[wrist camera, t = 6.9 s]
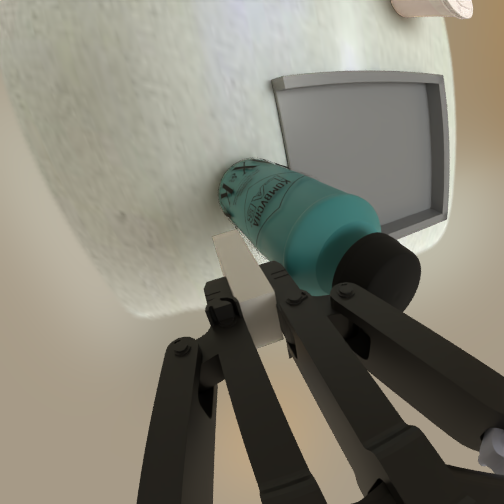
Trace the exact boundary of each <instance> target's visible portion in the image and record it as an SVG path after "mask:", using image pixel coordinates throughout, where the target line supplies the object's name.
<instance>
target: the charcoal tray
mask: <svg viewBox="0 0 504 504" xmlns="http://www.w3.org/2000/svg"><path fill="white" fill-rule="evenodd" d="M272 85H273V89H274V94H275V99H276V104H277V109H278V114H279V119H280V124H281V129H282V134H283V139H284V145H285V150H286V155H287V161H288V167H289V168H290V169H289V170H292V171H296V172H297V173H300V174H302V173H304V174H303V175H310V177H311V178H313V179H316V180H319V182H322V183H324V184H327V185H329V186H332V187H334V188H336V189H339V190H341V191H344V192H346V193H348V194H353V195H356V196H359V197H361V198H363V199H364V200H366V201H367V202H368V203H369V204H370V205H371V206H372V207H373V208H374V210H375V211H376V213H377V215H378V218H379V221H380V226H381V233H385V234H387V235H389V236H391V237H393V238H394V239H396V240H397V239H400V238H402V237H405V236H407V235H410V234H412V233H415V232H417V231H420V230H422V229H425V228H427V227H430V226H432V225H435V224H437V223H439V222H442V221H444V220H447V213H448V198H449V128H448V113H447V102H446V93H445V85H444V78H443V75H438V74H428V73H416V72H400V71H336V72H320V73H308V74H297V75H288V76H282V77H279V78H276V79H273V80H272ZM297 170H298V171H297ZM311 175H312V176H311Z"/></svg>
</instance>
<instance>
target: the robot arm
mask: <svg viewBox="0 0 504 504" xmlns="http://www.w3.org/2000/svg"><path fill="white" fill-rule="evenodd" d="M212 238H213V242H214V245H215V249H216V252H217V255H218V259H219V262H220V266H221V269H222V272H223V276H224V277H222V278H219V279H215V280H212V281H209V282H206V285H205V287H204V292H205V296H206V301H207V306H206V310H205V312H206V314H207V317H208V319H209V322H210V325H211V327H210V329H209V330H208V332H207V333H206V334H205V335H203V336H202V337H200V338H198V339H197V340H195V339H193V338H191V337H182V338H178V339H176V340H175V341H173V342H172V343H170V345H169V346H168V347H167V349H166V353H165V357H164V361H163V366H162V370H161V374H160V378H159V383H158V388H157V392H156V397H155V401H154V406H153V411H152V416H151V421H150V426H149V431H148V436H147V442H146V447H145V454H144V459H143V465H142V471H141V478H140V483H139V490H138V497H137V504H213V478H214V451H215V428H216V427H215V426H216V407H217V389H218V386H217V384H218V383H219V382H221V381H223V380H224V379H225V380H226V384H227V388H228V391H229V395H230V398H231V402H232V405H233V409H234V412H235V415H236V419H237V422H238V425H239V428H240V432H241V435H242V438H243V441H244V444H245V448H246V451H247V454H248V457H249V460H250V463H251V466H252V468H253V472H254V475H255V477H256V481H257V483H258V487H259V490H260V498H261V502H262V504H327V502H326V500H325V498H324V496H323V494H322V492H321V490H320V488H319V486H318V484H317V482H316V480H315V479H314V477H313V475H312V474H311V473H310V471H309V468H308V466H307V464H306V462H305V460H304V458H303V456H302V453H301V451H300V449H299V447H298V444H297V442H296V440H295V438H294V436H293V433H292V432H291V429H290V427H289V425H288V422H287V420H286V417H285V415H284V413H283V411H282V408H281V406H280V404H279V402H278V399H277V397H276V394H275V392H274V390H273V388H272V385H271V383H270V380H269V378H268V376H267V373H266V371H265V369H264V366H263V364H262V362H261V359H260V357H259V354H258V352H257V348H260V347H263V346H266V345H269V344H272V343H274V342H277V341H280V340H283V334H284V336H285V338H286V342H287V348H288V353H289V358H292V357H293V359H294V361H295V363H296V364H297V366H298V368H299V370H300V372H301V374H302V376H303V378H304V379H305V382H306V383H307V385H308V387H309V389H310V391H311V393H312V395H313V397H314V399H315V400H316V402H317V404H318V406H319V408H320V410H321V412H322V413H323V415H324V417H325V419H326V421H327V423H328V425H329V427H330V428H331V430H332V432H333V434H334V436H335V438H336V440H337V441H338V443H339V445H340V447H341V449H342V451H343V452H344V454H345V456H346V458H347V460H348V461H349V464H350V465H351V467H352V469H353V471H354V473H355V476H356V480H357V483H358V486H359V488H360V490H361V492H362V494H363V496H364V498H363V499H362V500H360V501H359V502H356V503H353V504H504V377H503V376H502V375H500V374H499V373H497V372H496V371H494V370H493V369H491V368H490V367H488V366H487V365H485V364H484V363H482V362H481V361H479V360H478V359H476V358H475V357H473V356H471V355H470V354H468V353H467V352H465V351H464V350H462V349H461V348H459V347H457V346H456V345H454V344H453V343H451V342H450V341H448V340H446V339H445V338H443V337H441V336H440V335H438V334H437V333H435V332H434V331H432V330H431V329H429V328H427V327H426V326H424V325H422V324H421V323H419V322H418V321H416V320H414V319H412V318H411V317H410V316H408V315H406V314H405V313H403V312H401V311H400V310H398V309H397V308H395V307H393V306H392V305H390V304H388V303H387V302H385V301H383V300H382V299H380V298H378V297H377V296H375V295H373V294H372V293H370V292H368V291H367V290H365V289H363V288H362V287H360V286H358V285H356V284H354V283H349V282H345V283H339V284H337V285H335V286H334V287H333V288H332V289H331V291H330V295H323V296H311V295H310V293H308V292H307V291H305V290H302V289H300V288H299V287H298V286H297V284H296V283H295V281H294V280H293V279H292V277H291V276H290V275H289V273H288V272H287V271H286V270H285V268H284V267H283V265H282V264H281V263H279V262H277V261H274V260H273V261H270V262H267V263H264V264H261V265H258V263H257V261H256V260H255V258H254V256H253V255H252V253H251V251H250V250H249V248H248V246H247V245H246V243H245V241H244V240H243V238H242V237H241V235H240V233H239V232H238V230H237V229H235V230H232V231H229V232H225V233H222V234H219V235H215V236H212ZM282 333H283V334H282ZM367 370H368V371H369V372H370V373H371V374H373V375H374V376H375V377H376V378H377V379H379V380H380V381H381V382H382V383H384V384H385V385H386V386H387V387H389V388H390V389H391V390H392V391H394V392H395V393H396V394H397V395H399V396H400V397H401V398H402V399H404V400H405V401H406V402H407V403H409V404H410V405H411V406H412V407H414V408H415V409H416V410H417V411H419V412H420V413H421V414H423V415H424V416H425V417H426V418H428V419H429V420H430V421H431V422H433V423H434V424H435V425H436V426H438V427H439V428H440V429H442V430H443V431H444V432H446V433H447V434H448V435H449V436H451V437H452V438H453V439H455V440H456V441H458V442H459V443H461V444H462V445H464V446H466V447H468V448H470V449H473V450H476V451H479V453H480V455H479V458H478V462H479V464H480V465H481V466H487V467H489V468H491V469H492V470H493V472H494V473H495V474H493V473H486V472H481V471H474V470H470V469H465V468H460V467H455V466H451V465H446V464H445V463H444V461H443V460H442V459H441V457H440V456H439V454H438V453H437V451H436V450H435V449H434V447H433V446H432V444H431V443H430V442H429V440H428V439H427V438H426V436H425V435H424V433H423V432H422V431H421V430H420V429H419V428H418V427H416V426H413V425H408V424H406V423H405V422H404V421H403V419H402V418H401V417H400V415H399V414H398V412H397V411H396V410H395V408H394V407H393V405H392V404H391V403H390V401H389V400H388V399H387V397H386V396H385V394H384V393H383V392H382V390H381V389H380V388H379V386H378V385H377V383H376V382H375V381H374V379H373V378H372V376H371V375H370V374H369V372H368V371H367Z"/></svg>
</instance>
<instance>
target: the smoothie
mask: <svg viewBox="0 0 504 504" xmlns="http://www.w3.org/2000/svg"><path fill="white" fill-rule="evenodd" d="M391 4H392V6H393V8H394V9H395V11H396V12H397V13H398V14H399V15H401V16H402V17H433V16H444V17H445V16H446V17H456V18H458V19H466V18H470V17H471V16H472V14H473V5H472V2H471V0H391Z"/></svg>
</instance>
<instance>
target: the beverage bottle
mask: <svg viewBox="0 0 504 504" xmlns="http://www.w3.org/2000/svg"><path fill="white" fill-rule="evenodd" d="M260 159H261V158H260ZM243 160H244V159H243ZM263 160H265V159H263ZM263 160H259V159H253V158H251V159H248V160H244V161H241V162H239V163H237V164H236V163H235V165H234V166H233V165H232V166H231V168H230V169H228V170H227V171H226V174H225V175H224V177H222V179H221V180H222V181H221V183H220V184H219V185H220V188H219V189H218V190H219V199H218V201H220V204H221V207H222V209H223V212H224V213H223V214H225V215H226V216H227V217H229V218H230V219H231V220H232V221H233V222H234V223H235V225H236V227H238V228H239V229H240V230H241V231H242V232H243V233H244V235H245V236H246V237H247V238H248V239H249V240H250V241H251V242H252V244H253V245H254V247H256V248H257V249H258V250H259V251H260V252H261V253H262V254H263V255H264V256H265V257H266V259H268V260H269V261H273V260H274V261H277V262H279V263H281V264H282V265H283V267H284V268H285V270H286V271H287V272H288V273H289V275H290V276H291V277H292V279H293V280H294V281H295V283H296V284H297V286H298V287H299V288H300V289H302V290H305V291H307V292H308V293H310V295H311V296H323V295H330V291H331V289H332V288H333V287H334V286H335V285H337V284H339V283H345V282H349V283H354V284H356V285H358V286H360V287H362V288H363V289H365V290H367V291H368V292H370V293H372V294H373V295H375V296H377V297H378V298H380V299H382V300H383V301H385V302H387V303H388V304H390V305H392V306H393V307H395V308H397V309H398V310H400V311H401V312H403V311H404V310H405V309H406V307H407V306H408V305H409V303H410V302H411V300H412V298H413V297H414V295H415V293H416V290H417V288H418V285H419V281H420V276H421V266H420V262H419V259H418V258H417V256H416V255H415V254H414V253H413V252H411V251H410V250H409V249H407V248H406V247H404V246H403V245H401V244H400V243H399V242H398V241H397V240H396V239H394V238H393V237H391V236H389V235H387V234H385V233H381V226H380V221H379V218H378V215H377V213H376V211H375V210H374V208H373V207H372V206H371V205H370V204H369V203H368V202H367V201H366V200H364V199H363V198H361V197H359V196H356V195H353V194H348V193H346V192H344V191H341V190H339V189H336V188H334V187H332V186H329V185H327V184H324V183H322V182H319V180H316V179H313V178H311V177H310V175H303V174H304V173H302V174H300V173H297V172H296V171H292V170H289V169H290V168H289V167H285V166H283V167H285V168H283V167H281V166H282V165H280V166H278V165H279V164H276V163H275V164H276V165H275V164H272V163H273V162H271V163H270V162H268V161H269V160H268V161H267V162H266V160H265V161H263ZM286 168H288V169H286ZM297 171H298V170H297ZM311 176H312V175H311ZM228 220H229V219H228ZM234 223H232V224H234ZM236 227H235V228H236ZM236 229H237V228H236ZM250 241H249V242H250ZM256 248H255V249H256ZM258 250H256V251H258ZM261 257H262V256H261ZM263 258H264V257H263Z"/></svg>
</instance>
